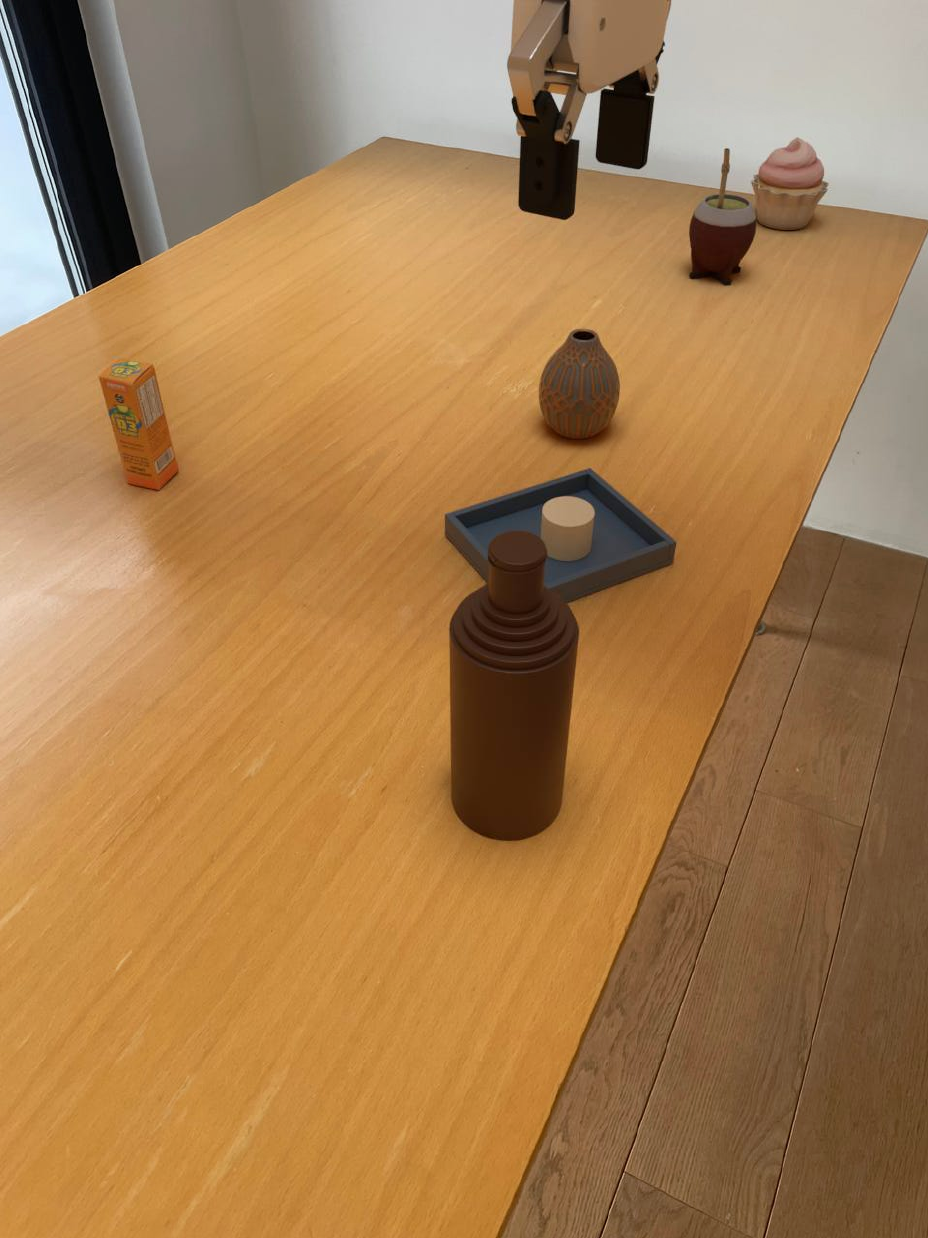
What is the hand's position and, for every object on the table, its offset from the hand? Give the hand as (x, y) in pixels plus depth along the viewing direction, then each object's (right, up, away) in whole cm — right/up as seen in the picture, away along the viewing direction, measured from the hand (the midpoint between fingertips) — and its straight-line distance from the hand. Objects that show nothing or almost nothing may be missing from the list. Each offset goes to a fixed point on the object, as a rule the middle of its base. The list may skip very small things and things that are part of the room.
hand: (585, 187), depth 58 cm
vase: (+3, -8, +31) cm, 32 cm away
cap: (+1, -19, +17) cm, 26 cm away
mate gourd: (+21, +14, +55) cm, 61 cm away
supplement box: (-33, -14, +25) cm, 43 cm away
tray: (0, -20, +17) cm, 26 cm away
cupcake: (+33, +24, +68) cm, 79 cm away
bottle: (-5, -35, 0) cm, 35 cm away
